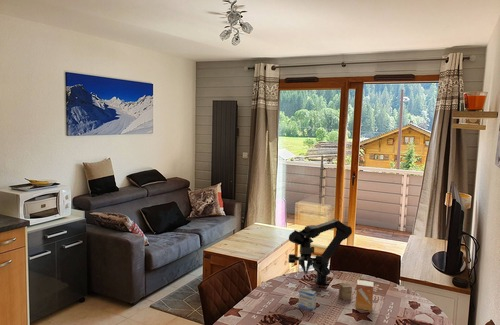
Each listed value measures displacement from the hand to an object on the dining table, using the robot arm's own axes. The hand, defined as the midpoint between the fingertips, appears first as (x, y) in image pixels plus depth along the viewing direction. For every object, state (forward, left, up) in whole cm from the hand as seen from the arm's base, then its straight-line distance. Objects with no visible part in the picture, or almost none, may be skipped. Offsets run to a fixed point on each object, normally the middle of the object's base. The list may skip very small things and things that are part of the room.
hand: (305, 274), depth 209 cm
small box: (+16, +26, -13) cm, 33 cm away
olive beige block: (+4, +21, -13) cm, 25 cm away
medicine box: (+12, -3, -13) cm, 18 cm away
